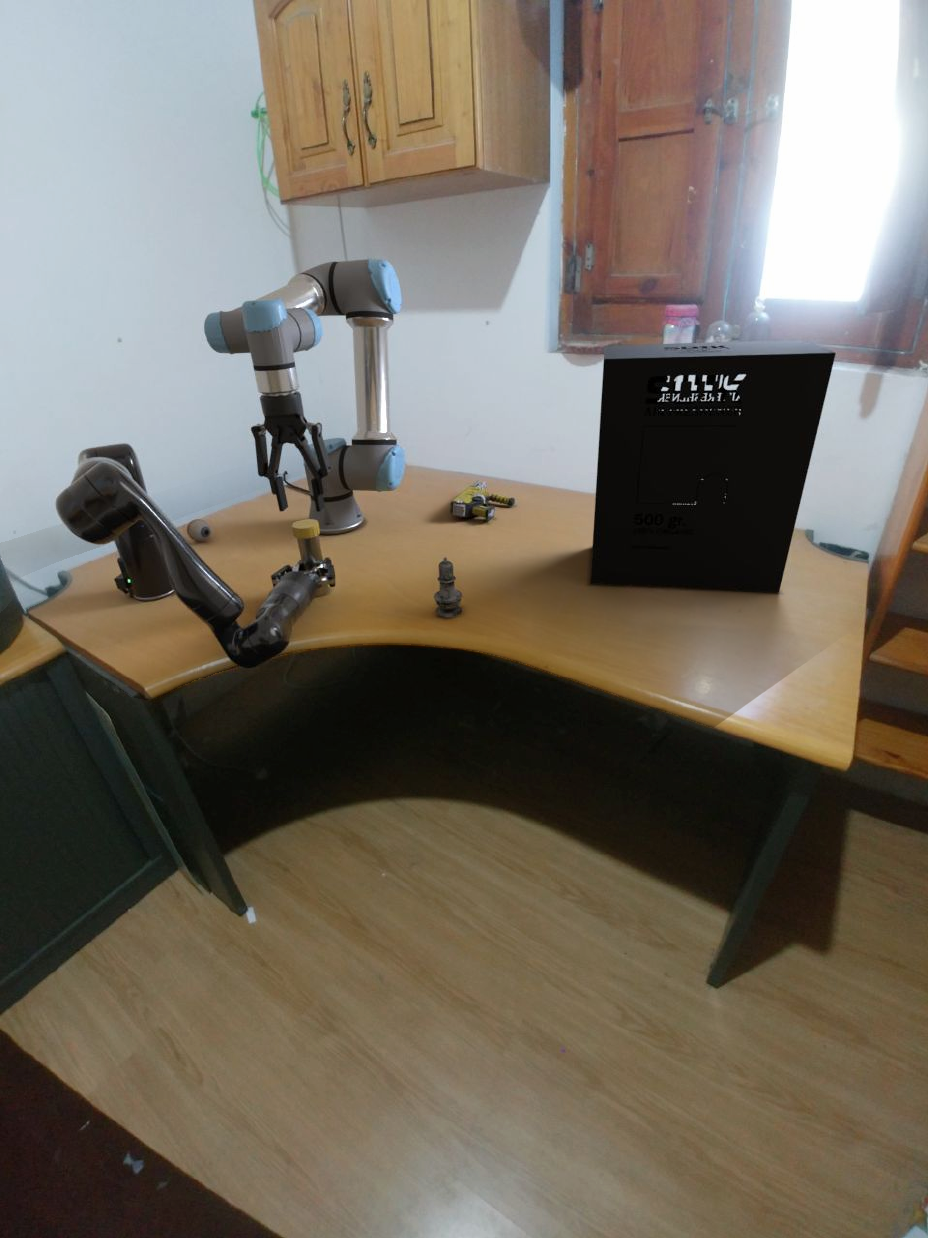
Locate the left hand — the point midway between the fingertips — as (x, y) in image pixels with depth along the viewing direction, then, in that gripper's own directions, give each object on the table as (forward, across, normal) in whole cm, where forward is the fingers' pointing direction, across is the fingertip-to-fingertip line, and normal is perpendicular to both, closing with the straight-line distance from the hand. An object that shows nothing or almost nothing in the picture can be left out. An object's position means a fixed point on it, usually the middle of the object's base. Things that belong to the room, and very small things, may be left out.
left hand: (317, 561), depth 133 cm
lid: (-3, 0, -10) cm, 10 cm away
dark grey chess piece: (-11, -30, +6) cm, 33 cm away
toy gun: (+50, -34, +6) cm, 61 cm away
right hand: (-3, 0, -13) cm, 13 cm away
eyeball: (+27, +42, +6) cm, 50 cm away
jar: (-3, 0, +6) cm, 7 cm away
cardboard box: (+9, -80, +6) cm, 80 cm away
